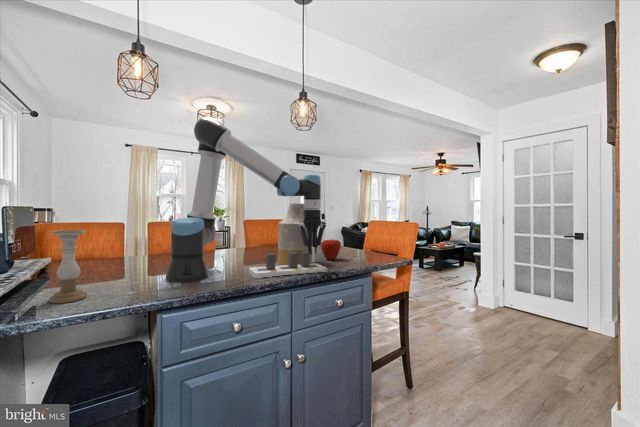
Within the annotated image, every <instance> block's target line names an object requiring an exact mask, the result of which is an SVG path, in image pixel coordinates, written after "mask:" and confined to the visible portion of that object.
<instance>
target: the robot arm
mask: <svg viewBox="0 0 640 427" xmlns="http://www.w3.org/2000/svg"><path fill="white" fill-rule="evenodd" d="M193 135H194V137H195V139H196V141H197V142H198V147H197V153H198V154H199V155H200V161H199V164H198V165H199V166H198V172H197V177H196V184H195V189H194V196H193V202H192V207H191V210H190V211H189V212H188V213H187V215H186V217H183V218H180V217H179V218H176V219H174V220H172V222H171V227H170V234H171V236H170V238H171V239H170V240H171V241H170V261H169V262H170V263H169V266H168V268H167V271H166V273H165V281H166V282H169V283H180V284H181V283H193V282H194V283H195V282H200V281H203V280H205V279H207V278H209V270H208V268H207V264H206V261H205V257H204V256H205V254H204V253H205V252H204V251H205V249H204V248H205V247H206V246H207V245H209V244H210V243H211V242H212V241H213V240H214V238H215V236H216V232H217V231H216V227H215V223H216V217H215V215H214V208H215V200H216V196H217V189H218V183H219V177H220V171H221V165H222V160H224V159H226V157H227V156H228V157H230V158H231V159H232V160H234V161H236V162H237V163H238V164H240V165H241V166H243V167H245V168H246V169H247V170H250V171H251V172H252V173H253V174H256V175H257V176H259V177H260V178H261V179H263V180H264V181H265V182H267V183H268V184H270V185H272V186H273V187H274V188H276V193H277V196H279V197H303V204H304V209H305V210H304V221H303V223H302V224H301V225H299V226H298V227H299V229H300V230H301V234H302V238H303V242H304V245H305V246H308V252H309V253H310V261H311V262H315V261H316V255H317V248H318V246H321V243H322V241H323V235H324V230H325V228H326V227H327V225H326V224H324V223H322V220H321V217H322V216H321V212H322V211H321V208H322V207H321V196H322V195H321V191H322V190H321V186H322V184H321V176H320V175H319V174H305V175H304V176H303V178H300V179H298V178H297V177H296V176H294V175H292V174H290V173H288V172H286V171H285V170H284V169H283V168H281V167H280V166H278V165H277V164H275V163H274V162H272V161H271V160H269V159H268V158H266V157H265V156H264V155H262V154H260V152H258V151H257V150H255V149H253V148H252V147H250V146H249V145H247V144H246V143H244V142H243V141H241V140H240V139H238V138H237V137H235V136H234V135H232V131H231V130H230V129H228V128H227V127H226V126H224V125H223V124H222V123H221V122H220V121H219V120H217V119H216V118H214V117H209V116H206V117H201V118H200V119H198V121H196V123H195V125H194V127H193ZM305 227H306V228H307V232H308V240H307V236H306V232H305V229H304V228H305ZM312 232H313V239H312ZM312 245H313V247H312Z"/></svg>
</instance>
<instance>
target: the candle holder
mask: <svg viewBox="0 0 640 427" xmlns="http://www.w3.org/2000/svg"><path fill="white" fill-rule="evenodd" d="M50 234H51V236H58V237H59V238H58V239H59V241H61V243H62V246H61V247H60V248H59V250H61V251H62V257H61V262H60V264H59V267H58V268H57V270H56V277H57V278H58V279H59V281H58V282H57V285H58V286H59V287H60V290H59V291H55V292H54V293H53V295H51V296H50V297H48V302H49V303H51V304H65V303H73V302H77V301H81V300H83V299H86V298H87V297H88V293H87V292H86V291H84V290H83V289H81V288H77V285H78V283H79V282H80V279H78V278H79V276H80V274H81V268H80V266H79V265H78V262H77V261H76V256H75V254H76V253H75V252H76V250H77V249H78V247H77V246H76V245H75V244H76V241H77V240H78V238H79V237H78V236H80V235H85V234H86V231H85V230H82V229H69V230H68V229H66V230H65V229H64V230H54V231H51V233H50Z"/></svg>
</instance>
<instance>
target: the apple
mask: <svg viewBox="0 0 640 427" xmlns="http://www.w3.org/2000/svg"><path fill="white" fill-rule="evenodd" d="M341 247H342V243H341V242H340V240H339V239H333V238H330V239H325V240H322V241H321V244H320V248H321V251H322V253H323V256H324V258H325V259H327V260H328V259H334V260H337V257H338V254H339V252H340V250H341Z"/></svg>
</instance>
